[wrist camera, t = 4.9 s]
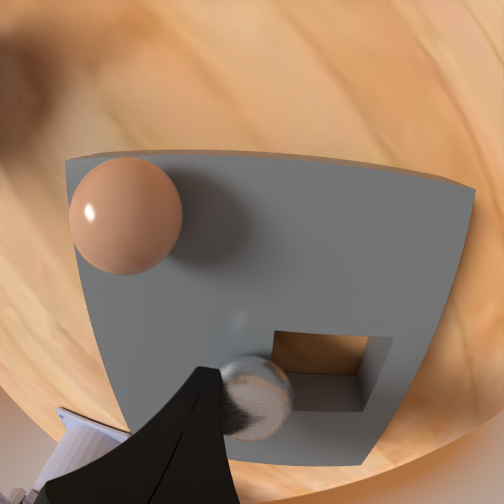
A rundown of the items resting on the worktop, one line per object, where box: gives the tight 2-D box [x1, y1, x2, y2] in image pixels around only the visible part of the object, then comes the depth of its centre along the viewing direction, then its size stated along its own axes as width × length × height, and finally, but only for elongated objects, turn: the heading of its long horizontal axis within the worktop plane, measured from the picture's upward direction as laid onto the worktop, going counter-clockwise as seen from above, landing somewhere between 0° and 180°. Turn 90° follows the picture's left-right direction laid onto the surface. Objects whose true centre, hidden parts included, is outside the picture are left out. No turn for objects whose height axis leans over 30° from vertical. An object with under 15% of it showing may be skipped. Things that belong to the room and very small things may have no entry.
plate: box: [65, 150, 476, 466], centre depth 12 cm, size 16×14×2 cm
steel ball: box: [216, 356, 294, 441], centre depth 10 cm, size 3×3×3 cm
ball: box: [69, 157, 183, 276], centre depth 8 cm, size 3×3×3 cm
